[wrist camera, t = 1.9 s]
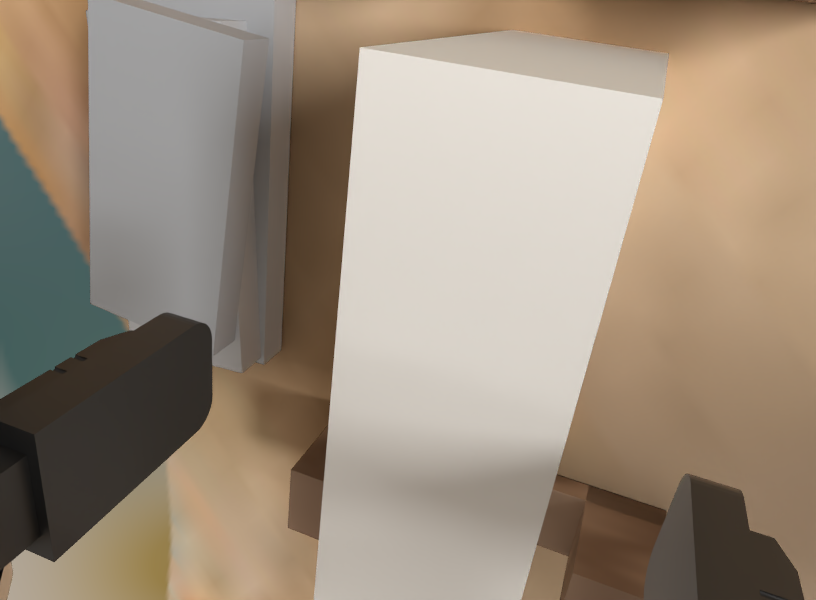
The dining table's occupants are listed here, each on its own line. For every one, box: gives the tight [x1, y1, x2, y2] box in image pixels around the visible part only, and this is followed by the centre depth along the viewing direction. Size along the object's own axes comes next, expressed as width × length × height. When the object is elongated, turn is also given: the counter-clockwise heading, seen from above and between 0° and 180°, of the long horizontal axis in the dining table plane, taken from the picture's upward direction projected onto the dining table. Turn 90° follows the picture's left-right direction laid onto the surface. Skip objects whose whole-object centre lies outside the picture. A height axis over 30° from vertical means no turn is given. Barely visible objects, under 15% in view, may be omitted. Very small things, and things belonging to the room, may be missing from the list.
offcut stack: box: [86, 0, 296, 373], centre depth 21 cm, size 6×12×4 cm, turn 173°
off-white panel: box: [314, 30, 669, 600], centre depth 15 cm, size 4×12×10 cm, turn 173°
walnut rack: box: [288, 0, 816, 600], centre depth 18 cm, size 12×20×4 cm, turn 173°
